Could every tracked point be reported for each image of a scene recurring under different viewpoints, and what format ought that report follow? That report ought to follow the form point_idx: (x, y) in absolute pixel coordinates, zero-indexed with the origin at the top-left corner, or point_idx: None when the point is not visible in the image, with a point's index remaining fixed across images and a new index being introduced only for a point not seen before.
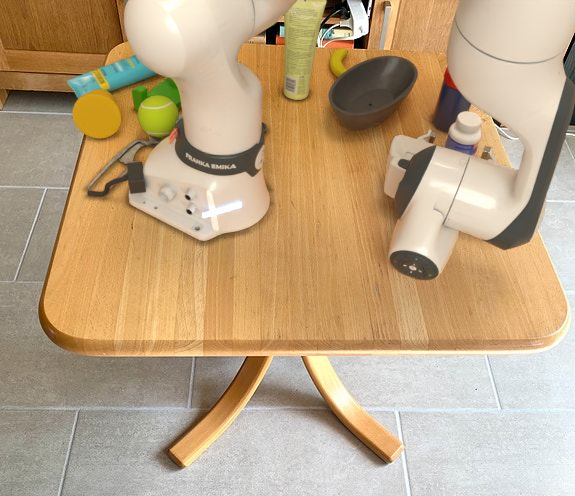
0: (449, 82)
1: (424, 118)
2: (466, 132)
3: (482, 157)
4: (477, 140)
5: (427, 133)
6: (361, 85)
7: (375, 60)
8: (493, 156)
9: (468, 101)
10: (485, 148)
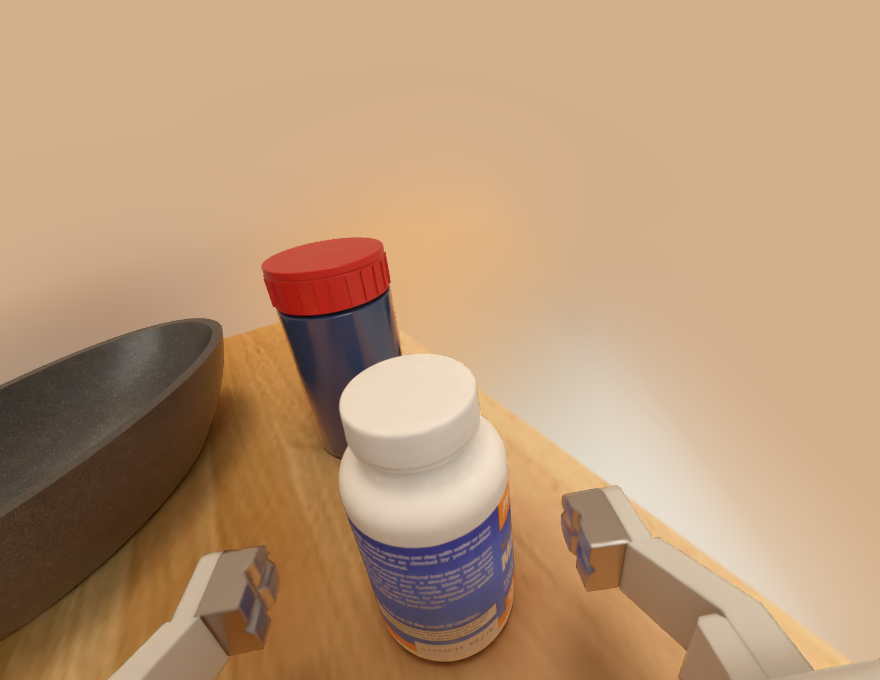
0: (287, 302)
1: (298, 444)
2: (427, 470)
3: (596, 579)
4: (502, 478)
5: (176, 612)
6: (60, 437)
7: (93, 352)
8: (688, 565)
9: (386, 340)
10: (584, 517)
